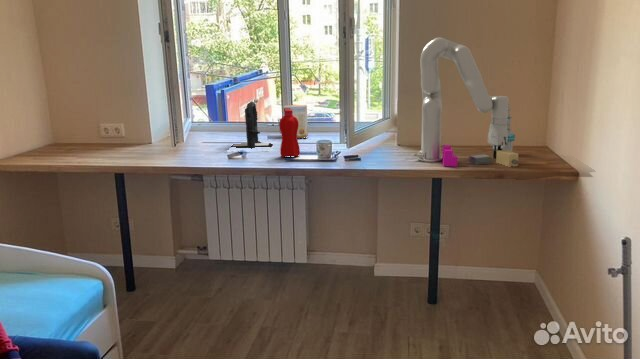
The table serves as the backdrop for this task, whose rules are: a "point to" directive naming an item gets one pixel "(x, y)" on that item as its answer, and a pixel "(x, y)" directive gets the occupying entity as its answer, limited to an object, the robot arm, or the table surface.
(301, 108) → the cracker box
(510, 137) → the model tower
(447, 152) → the toy block
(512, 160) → the yellow rectangular block
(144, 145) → the table surface
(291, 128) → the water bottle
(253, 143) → the black upright stand
